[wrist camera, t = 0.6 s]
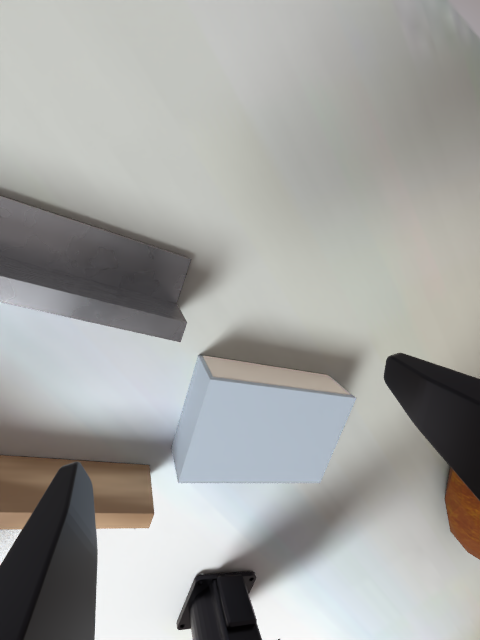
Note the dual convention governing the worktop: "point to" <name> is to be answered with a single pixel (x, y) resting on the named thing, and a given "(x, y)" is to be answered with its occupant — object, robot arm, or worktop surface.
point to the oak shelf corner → (107, 480)
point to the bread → (463, 514)
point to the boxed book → (258, 424)
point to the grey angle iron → (88, 272)
